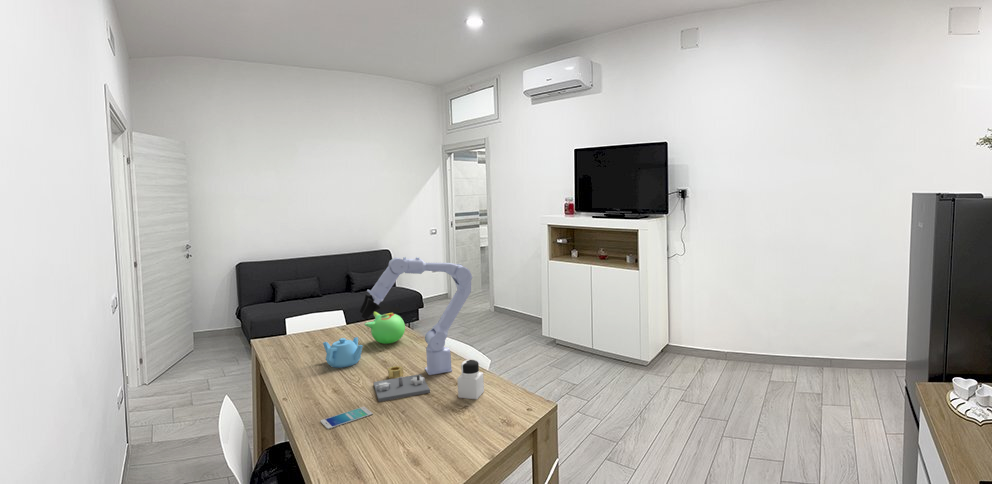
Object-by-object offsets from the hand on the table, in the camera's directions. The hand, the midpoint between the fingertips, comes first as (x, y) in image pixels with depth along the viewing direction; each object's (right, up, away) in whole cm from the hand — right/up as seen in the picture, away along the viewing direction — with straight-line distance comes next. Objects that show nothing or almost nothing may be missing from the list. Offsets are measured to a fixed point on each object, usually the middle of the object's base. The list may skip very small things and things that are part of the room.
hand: (362, 315), depth 184 cm
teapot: (-15, -24, +25) cm, 38 cm away
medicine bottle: (+42, -26, -13) cm, 51 cm away
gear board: (+16, -26, -5) cm, 31 cm away
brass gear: (+11, -25, +7) cm, 28 cm away
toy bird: (-2, -21, +51) cm, 55 cm away
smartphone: (+2, -30, -27) cm, 40 cm away
